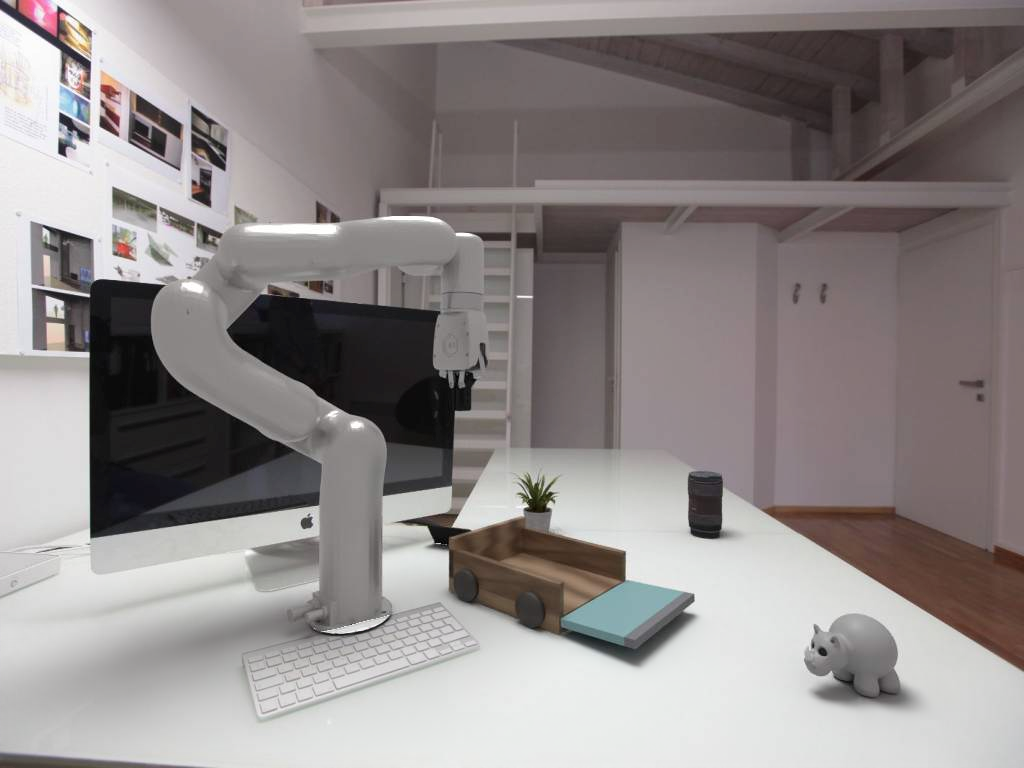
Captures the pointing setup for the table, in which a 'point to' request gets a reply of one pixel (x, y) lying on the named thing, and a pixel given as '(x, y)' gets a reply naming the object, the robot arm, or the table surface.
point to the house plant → (537, 503)
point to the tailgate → (628, 613)
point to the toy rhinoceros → (856, 654)
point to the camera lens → (705, 503)
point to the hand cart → (531, 572)
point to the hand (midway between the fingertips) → (461, 410)
